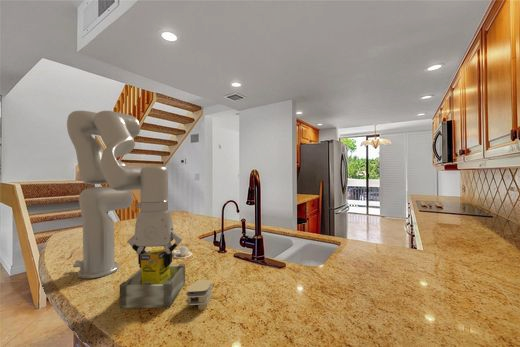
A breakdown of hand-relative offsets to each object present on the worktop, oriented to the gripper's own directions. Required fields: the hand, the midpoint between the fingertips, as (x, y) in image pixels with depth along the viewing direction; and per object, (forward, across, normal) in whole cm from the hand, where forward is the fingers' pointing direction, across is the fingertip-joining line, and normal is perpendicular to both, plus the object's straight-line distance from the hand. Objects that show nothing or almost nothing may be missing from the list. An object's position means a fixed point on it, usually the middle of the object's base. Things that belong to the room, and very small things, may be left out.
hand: (155, 265), depth 69 cm
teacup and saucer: (+10, -2, +36) cm, 37 cm away
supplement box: (+7, 0, 0) cm, 7 cm away
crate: (+9, 0, 0) cm, 9 cm away
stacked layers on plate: (+10, +14, -5) cm, 18 cm away
